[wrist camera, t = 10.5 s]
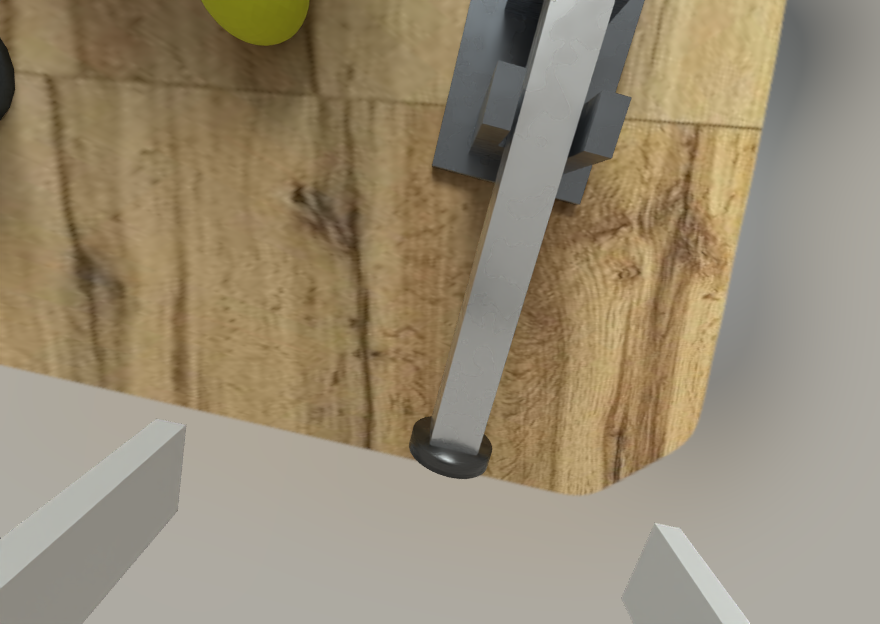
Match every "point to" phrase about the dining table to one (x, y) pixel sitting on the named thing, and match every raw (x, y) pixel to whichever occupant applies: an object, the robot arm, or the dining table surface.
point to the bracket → (499, 86)
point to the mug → (6, 80)
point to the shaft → (512, 234)
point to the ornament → (259, 18)
